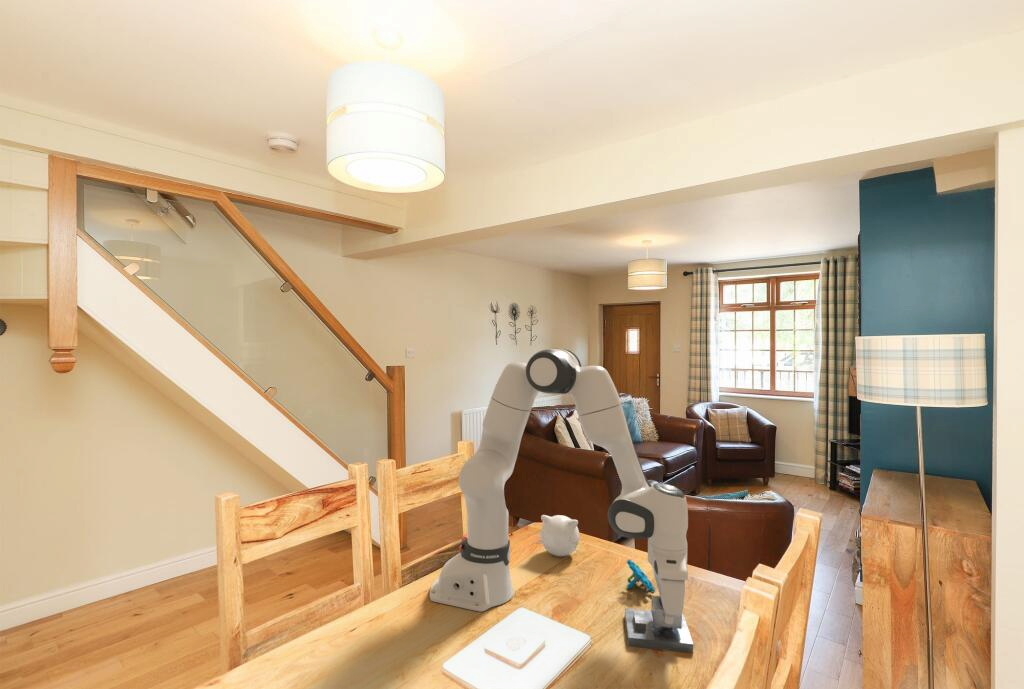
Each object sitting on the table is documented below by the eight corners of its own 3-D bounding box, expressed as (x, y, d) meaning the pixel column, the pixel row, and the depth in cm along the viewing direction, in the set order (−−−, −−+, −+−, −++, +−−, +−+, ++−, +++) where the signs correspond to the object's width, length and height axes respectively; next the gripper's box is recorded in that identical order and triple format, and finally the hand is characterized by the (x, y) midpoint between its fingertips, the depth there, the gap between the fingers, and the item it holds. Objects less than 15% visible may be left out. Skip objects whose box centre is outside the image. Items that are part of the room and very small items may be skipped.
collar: (654, 626, 115) (654, 609, 115) (651, 611, 121) (651, 595, 121) (681, 628, 115) (681, 611, 114) (677, 614, 120) (677, 597, 120)
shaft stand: (628, 646, 113) (628, 617, 113) (624, 616, 125) (625, 590, 125) (693, 652, 111) (693, 624, 111) (683, 621, 123) (683, 595, 123)
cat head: (587, 549, 163) (588, 512, 163) (578, 567, 151) (578, 527, 150) (543, 542, 168) (544, 506, 168) (530, 558, 156) (531, 519, 156)
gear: (659, 594, 133) (631, 564, 135) (643, 609, 133) (616, 579, 135) (653, 579, 144) (628, 552, 146) (638, 593, 144) (613, 565, 146)
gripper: (648, 536, 128) (647, 589, 129) (659, 574, 108) (658, 637, 108) (673, 537, 127) (672, 591, 128) (689, 577, 107) (688, 640, 107)
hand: (666, 613), depth 118 cm, fingers closed on collar, 6 cm apart
